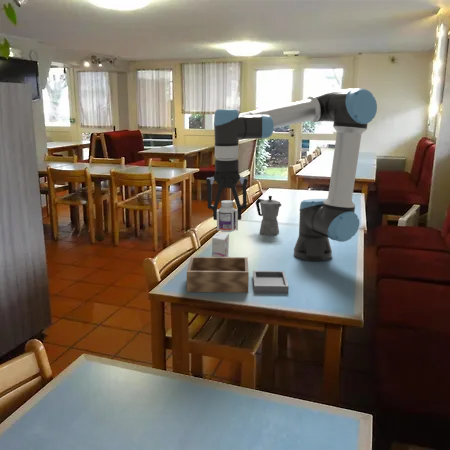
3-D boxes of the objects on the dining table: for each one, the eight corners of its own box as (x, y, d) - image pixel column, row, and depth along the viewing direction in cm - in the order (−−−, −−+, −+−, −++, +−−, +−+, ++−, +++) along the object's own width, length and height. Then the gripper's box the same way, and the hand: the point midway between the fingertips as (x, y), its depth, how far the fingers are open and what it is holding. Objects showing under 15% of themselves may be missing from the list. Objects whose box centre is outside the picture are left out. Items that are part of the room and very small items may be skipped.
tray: (284, 277, 163) (284, 271, 162) (288, 292, 149) (288, 286, 148) (252, 277, 163) (253, 270, 162) (254, 292, 149) (254, 285, 149)
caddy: (247, 275, 164) (247, 257, 162) (248, 292, 149) (248, 272, 148) (191, 275, 164) (191, 256, 163) (186, 291, 150) (186, 271, 148)
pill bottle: (227, 227, 156) (227, 199, 153) (238, 230, 152) (238, 201, 150) (215, 230, 152) (215, 201, 150) (227, 233, 148) (226, 203, 146)
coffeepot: (286, 233, 218) (287, 196, 213) (273, 237, 211) (274, 199, 207) (261, 227, 228) (262, 192, 224) (249, 231, 222) (249, 194, 217)
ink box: (224, 269, 170) (224, 239, 167) (211, 268, 171) (211, 238, 168) (228, 262, 178) (229, 232, 175) (216, 261, 179) (216, 232, 176)
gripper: (255, 157, 149) (255, 226, 155) (198, 157, 150) (200, 226, 156) (256, 160, 142) (255, 232, 148) (196, 160, 143) (198, 232, 149)
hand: (227, 229), depth 152 cm, fingers closed on pill bottle, 5 cm apart
